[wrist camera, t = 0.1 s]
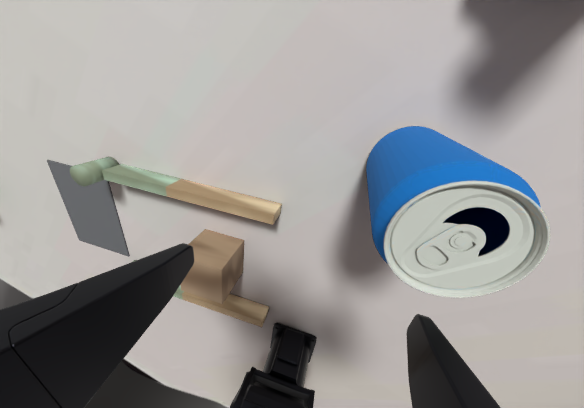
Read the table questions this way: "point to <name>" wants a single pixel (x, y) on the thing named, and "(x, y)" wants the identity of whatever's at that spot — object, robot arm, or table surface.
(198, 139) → the table surface
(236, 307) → the lane walls
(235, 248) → the block
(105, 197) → the pit mat
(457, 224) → the beverage can
